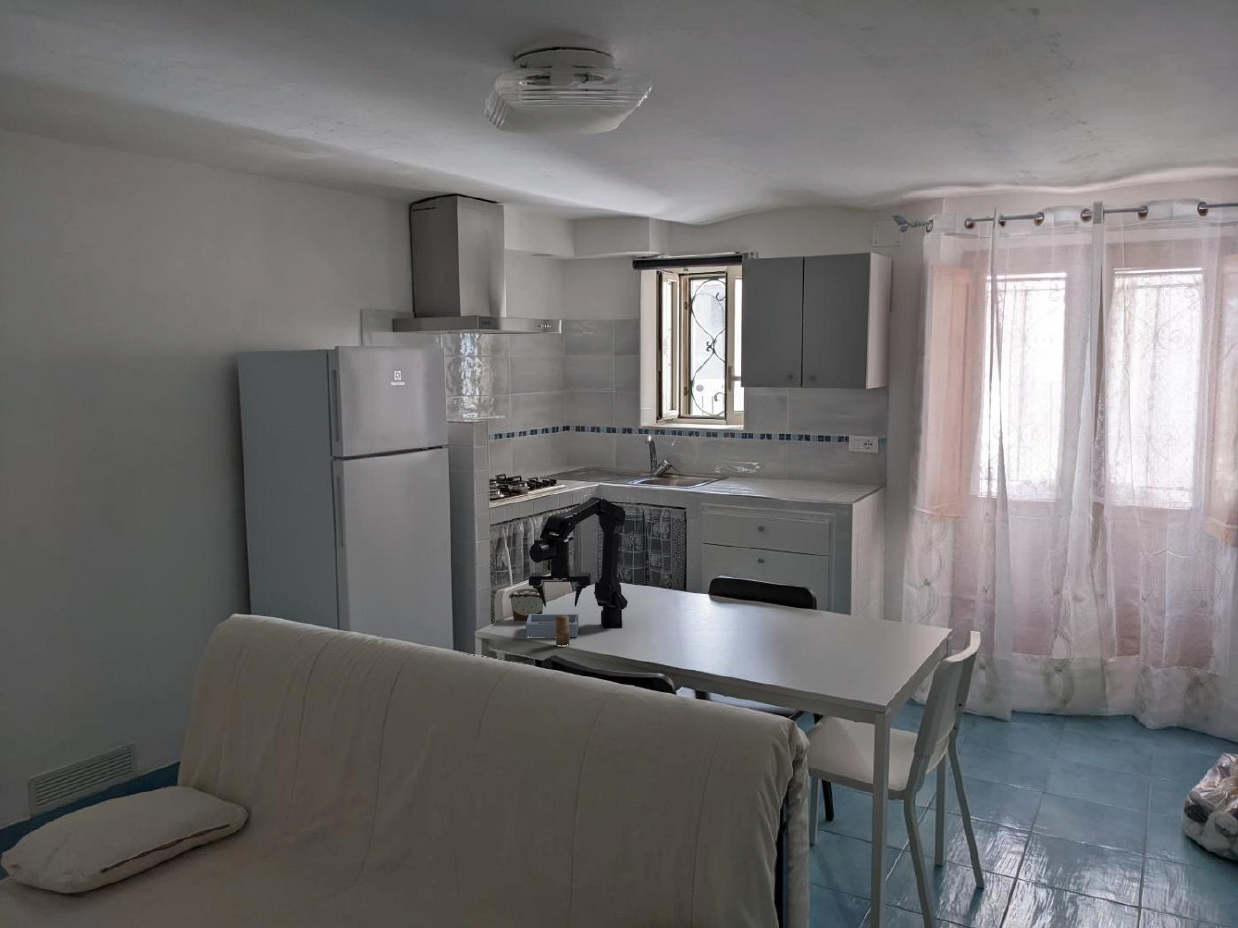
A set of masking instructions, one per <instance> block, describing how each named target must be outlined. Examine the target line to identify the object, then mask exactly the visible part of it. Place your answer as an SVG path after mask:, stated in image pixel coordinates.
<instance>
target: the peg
mask: <svg viewBox="0 0 1238 928" xmlns="http://www.w3.org/2000/svg"><path fill="white" fill-rule="evenodd" d="M556 644H557V645H561V646H562V645H567V644H569V645H570V638H569V616H567V615H558V616H556V638H555V645H556Z"/></svg>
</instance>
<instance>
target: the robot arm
mask: <svg viewBox="0 0 1238 928" xmlns="http://www.w3.org/2000/svg"><path fill="white" fill-rule="evenodd" d="M626 514H627V513H626V511H625V509H624V508H623V506H619V505H616V504H614V503H612V502H610V501H608V500H607V499H605V498H604V497H597V496H593V497H590V498H589V499H588V500H586V501H585V502H583V503H581V504H579V505H577V506H576V507H573V508H572V509H569V510H568V511H565V512H558V513H553V514H550V516H548V517H547V520H546V522H545V524H544V527H543V528H542V531H541V533H540V536H539V538H537V539H534V542H533V544H531V546H530V548H529V552H528V554H529V557H530V559H531V560H532V562H534V563H536V564H538V563H542V562H546V561H547V563H546V566H547V567H546V569H547V571H548V572H550V575H544V572H531V573H530V574H529V576H528V586H530V587H532V589H537V591H538V593H539V594H540V596H541V599H542V601H543V607H544V608H546V607H547V597H546V587H545V583H576V589H575V598H574V607H575V608H576V607H577V604H578V601H579V597H580V596H581V594H582V592H583V589H586V588H587V586H591V583H592V575H591V573H590V572H584V571H582V572H577V575H571V565H570V541H574V539H575V538H574V537H573V536H572V535H571V533H572V532H573V531H575V530H576V527H577V525H578V524H579V523H582V522H583V521H584V520H587V519H588V518H591V517H592V516H594V515H595V516H597V517H598V522H599V523H598V524H599V527H600V528H601V531H602V533H603V537H602V538H603V539H602V556H601V557H602V559H601V577H600V578H599V580H598V581H595V583H594V591H593V595H594V598H595V601H596V604H597V606H598V607H602V609H601V610H600V624H601V625H602V627H601V628H604V629H606V628H607V629H608V628H613V629H614V628H623V610H625V609H626V608H628V607H627V606H628V603H629V602H628V599H627V598H626V597H625V596H624V595H623V594H622V585H621V583H620V580H619V578H618V560H619V559H618V558H619V537H620V532H621V531H622V530H623V528H624V526H625V520H626Z"/></svg>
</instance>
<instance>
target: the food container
mask: <svg viewBox="0 0 1238 928" xmlns="http://www.w3.org/2000/svg"><path fill="white" fill-rule="evenodd" d="M508 599H510V604H511V611H512V619H513V622H514V621H519V622H518V623H526V622H527V619H528V616H529V614H544V613H543V609H544V604H543V601H542V599H541V596H540V594H539V593H538V591H537V589H534V588H519V589H515V590H512V591H510V592H509V595H508Z"/></svg>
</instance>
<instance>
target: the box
mask: <svg viewBox="0 0 1238 928" xmlns="http://www.w3.org/2000/svg"><path fill="white" fill-rule="evenodd" d="M558 615H567V616H569V637H577V638H578V633H579V628H580V627H579V626H580V625H579V623H580V622H579V618H580V617H579V613H542V614H529V616H528V619H527V622H525V637H526V636H527V637H528V636H529V637H531V636H532V637H556V616H558Z"/></svg>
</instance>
